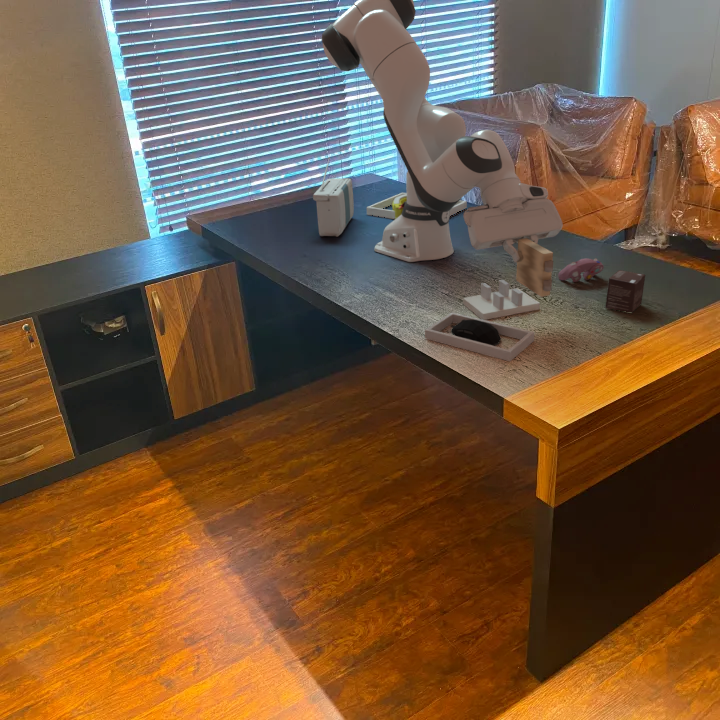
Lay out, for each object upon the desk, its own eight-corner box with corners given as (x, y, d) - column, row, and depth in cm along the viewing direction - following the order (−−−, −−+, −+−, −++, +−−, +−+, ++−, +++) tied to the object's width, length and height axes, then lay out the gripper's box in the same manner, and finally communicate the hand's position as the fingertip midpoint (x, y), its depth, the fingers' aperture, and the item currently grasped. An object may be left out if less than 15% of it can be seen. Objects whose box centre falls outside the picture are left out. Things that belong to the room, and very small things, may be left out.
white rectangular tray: (366, 214, 233) (366, 207, 232) (402, 199, 247) (402, 192, 246) (432, 225, 219) (432, 217, 217) (466, 208, 233) (466, 201, 232)
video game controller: (563, 289, 172) (572, 269, 166) (555, 276, 174) (564, 256, 169) (599, 283, 174) (609, 263, 168) (590, 270, 177) (600, 250, 171)
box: (615, 299, 161) (619, 269, 158) (641, 305, 158) (646, 274, 154) (604, 308, 157) (608, 277, 154) (631, 314, 154) (635, 283, 150)
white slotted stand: (463, 303, 164) (463, 285, 162) (517, 293, 167) (517, 275, 165) (483, 320, 155) (483, 301, 153) (539, 309, 159) (540, 290, 157)
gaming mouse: (456, 321, 157) (456, 305, 155) (507, 342, 146) (508, 325, 144) (435, 329, 153) (435, 313, 152) (485, 352, 143) (486, 334, 141)
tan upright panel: (516, 280, 151) (518, 239, 146) (524, 278, 151) (526, 238, 147) (544, 298, 141) (547, 256, 137) (553, 297, 142) (556, 254, 137)
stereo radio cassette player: (342, 238, 213) (337, 171, 203) (315, 238, 214) (310, 171, 205) (355, 218, 231) (351, 155, 221) (330, 218, 232) (325, 156, 223)
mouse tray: (425, 338, 149) (424, 329, 148) (451, 320, 156) (451, 312, 155) (509, 361, 138) (510, 352, 137) (533, 340, 145) (534, 332, 144)
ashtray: (385, 222, 226) (384, 207, 223) (398, 204, 243) (398, 190, 241) (436, 223, 222) (436, 207, 219) (446, 205, 239) (446, 190, 237)
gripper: (465, 200, 145) (486, 260, 141) (553, 187, 150) (575, 244, 146) (456, 216, 151) (476, 274, 147) (540, 202, 156) (562, 258, 152)
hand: (526, 259), depth 147 cm, fingers closed on tan upright panel, 2 cm apart
